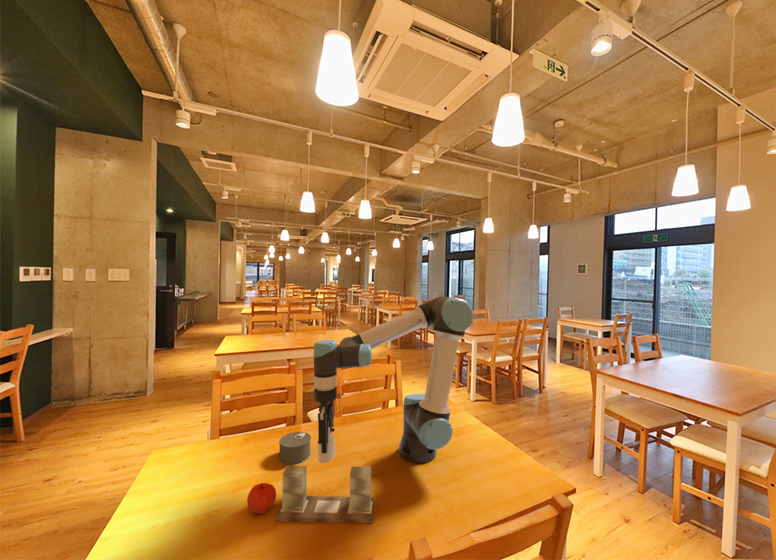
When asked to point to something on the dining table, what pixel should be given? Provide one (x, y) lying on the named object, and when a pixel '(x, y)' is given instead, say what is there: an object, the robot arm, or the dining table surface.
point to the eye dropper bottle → (331, 446)
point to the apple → (261, 498)
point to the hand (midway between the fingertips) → (326, 456)
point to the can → (294, 448)
